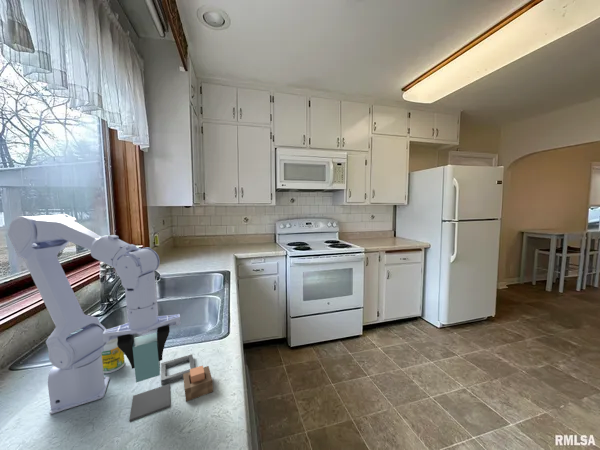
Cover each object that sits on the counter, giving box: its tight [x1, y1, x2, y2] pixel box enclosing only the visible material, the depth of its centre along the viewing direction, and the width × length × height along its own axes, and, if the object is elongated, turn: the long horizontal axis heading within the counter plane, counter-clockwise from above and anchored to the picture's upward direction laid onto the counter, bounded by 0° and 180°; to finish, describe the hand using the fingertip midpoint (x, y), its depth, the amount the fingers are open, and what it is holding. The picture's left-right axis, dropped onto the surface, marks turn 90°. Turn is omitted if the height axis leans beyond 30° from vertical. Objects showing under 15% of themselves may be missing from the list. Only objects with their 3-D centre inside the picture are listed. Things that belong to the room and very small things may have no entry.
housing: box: [182, 365, 214, 402], centre depth 62 cm, size 6×6×3 cm
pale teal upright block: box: [133, 331, 161, 383], centre depth 57 cm, size 4×4×8 cm
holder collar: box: [160, 353, 196, 386], centre depth 69 cm, size 8×8×1 cm
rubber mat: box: [128, 383, 171, 422], centre depth 58 cm, size 8×8×1 cm
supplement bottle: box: [101, 338, 126, 374], centre depth 71 cm, size 5×5×10 cm
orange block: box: [190, 365, 205, 384], centre depth 62 cm, size 3×3×4 cm
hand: (147, 362), depth 57 cm, fingers closed on pale teal upright block, 4 cm apart
